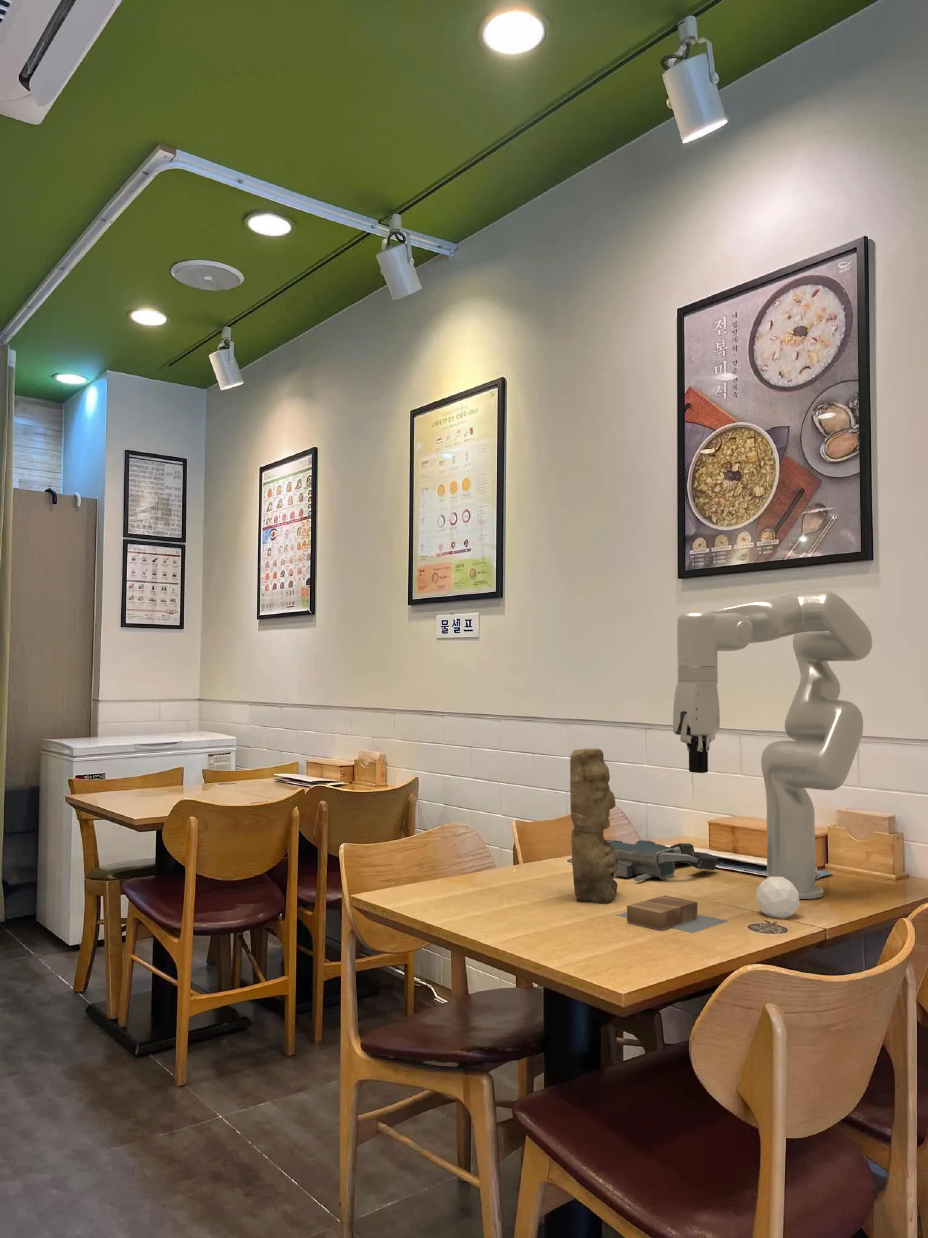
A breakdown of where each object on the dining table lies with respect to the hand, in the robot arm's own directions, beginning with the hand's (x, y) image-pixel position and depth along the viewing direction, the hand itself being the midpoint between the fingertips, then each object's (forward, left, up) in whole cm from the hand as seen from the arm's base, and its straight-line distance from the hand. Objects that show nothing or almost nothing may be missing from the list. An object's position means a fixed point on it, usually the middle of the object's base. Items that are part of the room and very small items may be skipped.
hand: (698, 772), depth 177 cm
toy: (-27, -29, -27) cm, 48 cm away
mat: (+9, 0, -27) cm, 28 cm away
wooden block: (+6, 0, -24) cm, 25 cm away
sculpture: (+6, -20, -27) cm, 34 cm away
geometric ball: (-8, +12, -27) cm, 30 cm away
